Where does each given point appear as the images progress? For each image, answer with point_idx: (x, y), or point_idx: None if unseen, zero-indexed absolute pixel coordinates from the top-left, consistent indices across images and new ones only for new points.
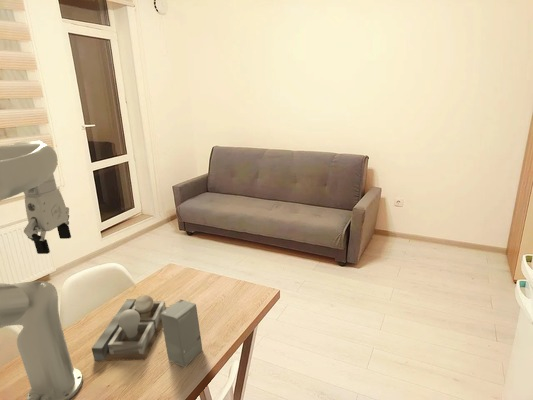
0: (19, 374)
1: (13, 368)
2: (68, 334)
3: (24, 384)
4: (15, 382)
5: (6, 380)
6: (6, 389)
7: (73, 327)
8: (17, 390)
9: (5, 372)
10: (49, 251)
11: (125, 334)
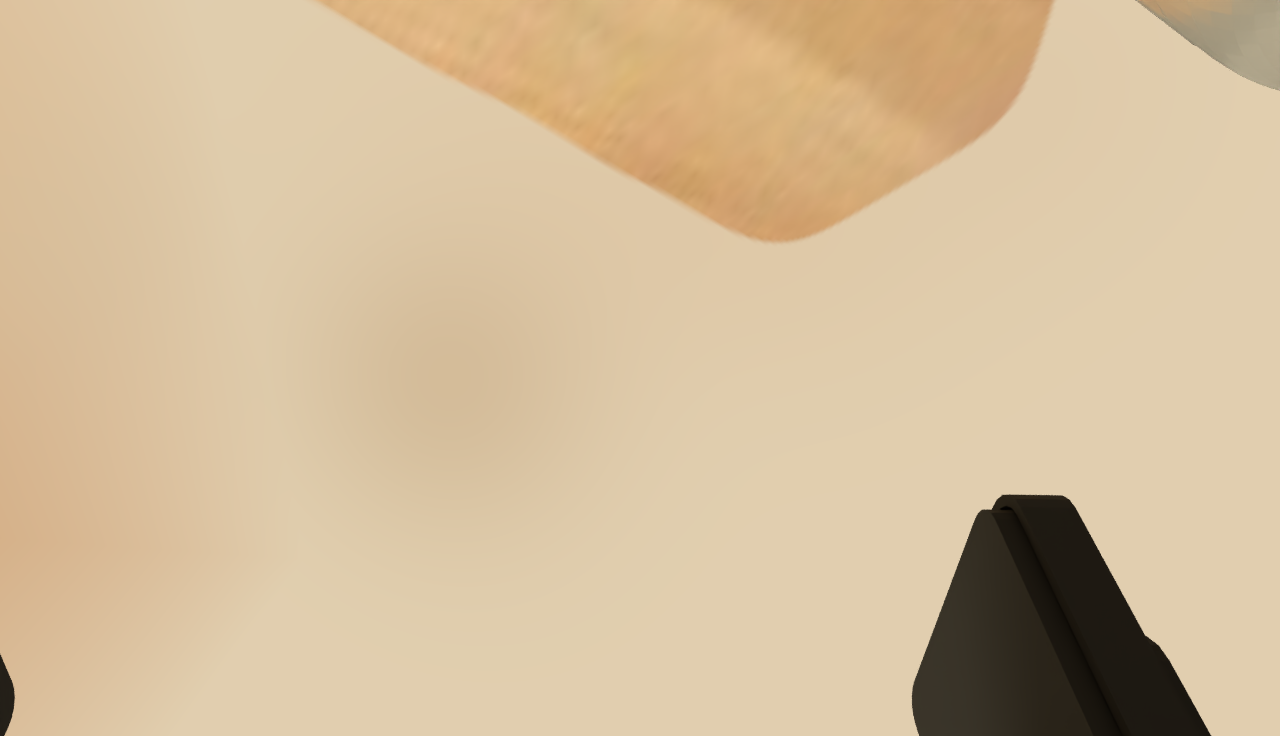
0: (848, 135)
1: (782, 208)
2: (442, 10)
3: (953, 44)
4: (918, 116)
5: (885, 185)
6: (967, 136)
7: (349, 15)
8: (997, 59)
9: (810, 234)
10: (1030, 510)
11: None
